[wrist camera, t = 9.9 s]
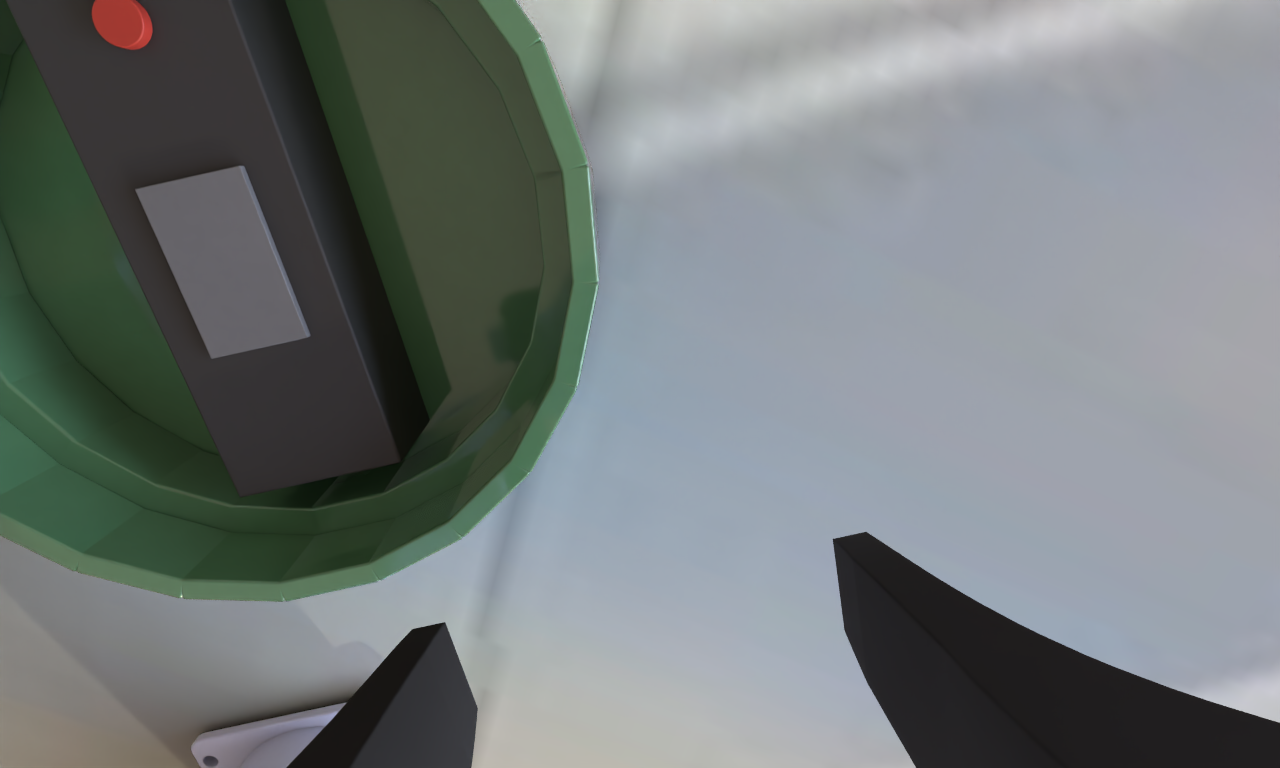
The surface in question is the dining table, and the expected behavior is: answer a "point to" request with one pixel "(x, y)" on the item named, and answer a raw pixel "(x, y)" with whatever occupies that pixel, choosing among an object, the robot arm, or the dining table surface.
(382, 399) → the remote
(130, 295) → the bowl
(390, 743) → the robot arm
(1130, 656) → the dining table surface
